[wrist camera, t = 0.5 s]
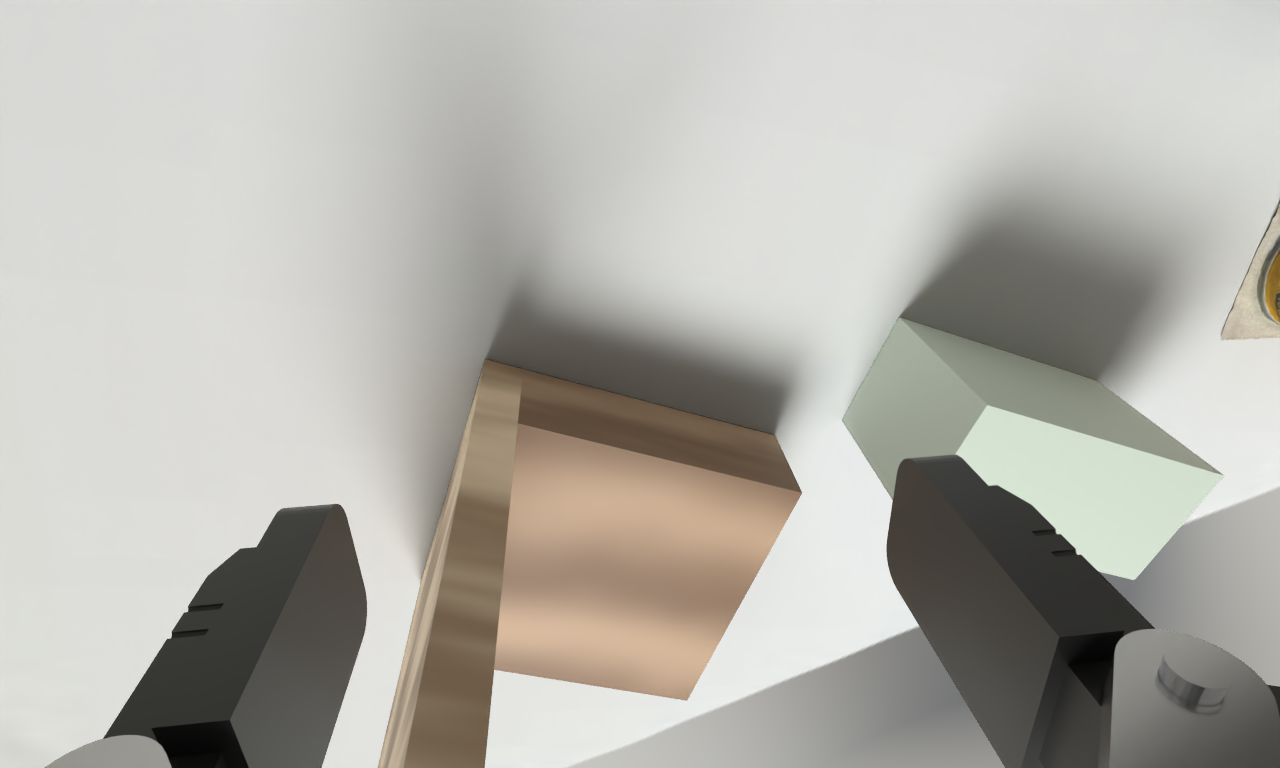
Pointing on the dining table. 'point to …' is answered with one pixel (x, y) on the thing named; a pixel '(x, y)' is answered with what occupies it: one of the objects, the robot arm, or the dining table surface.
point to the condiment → (1259, 293)
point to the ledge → (631, 537)
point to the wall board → (460, 595)
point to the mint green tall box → (1031, 441)
